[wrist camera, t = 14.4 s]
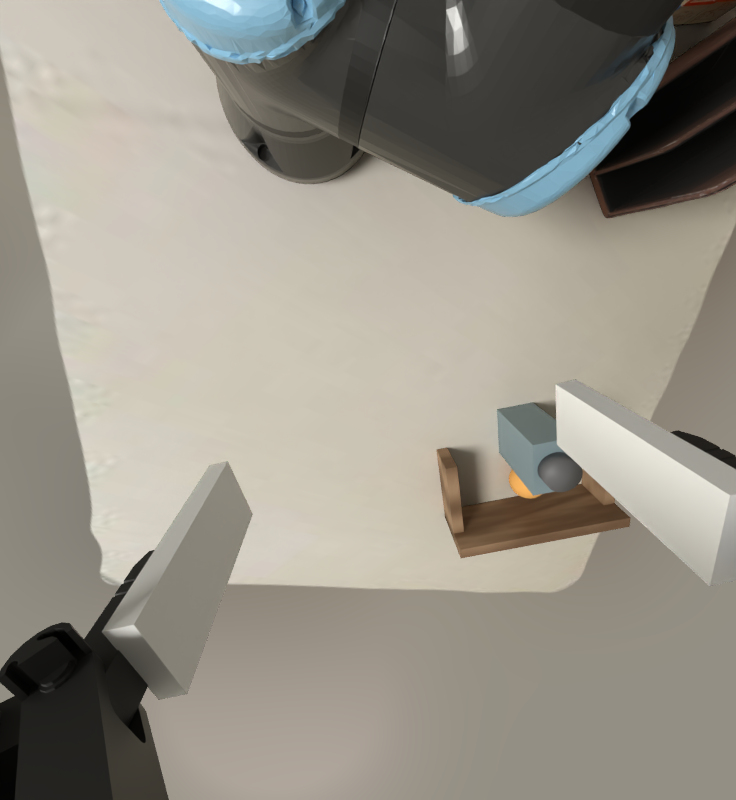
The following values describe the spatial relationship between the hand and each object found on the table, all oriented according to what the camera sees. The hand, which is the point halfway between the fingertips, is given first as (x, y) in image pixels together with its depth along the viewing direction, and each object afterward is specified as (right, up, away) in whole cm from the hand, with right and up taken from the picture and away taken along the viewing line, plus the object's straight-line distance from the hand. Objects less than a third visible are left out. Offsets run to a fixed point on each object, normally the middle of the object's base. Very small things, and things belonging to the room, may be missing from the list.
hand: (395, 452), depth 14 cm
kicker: (+20, -2, +36) cm, 41 cm away
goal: (+21, -8, +38) cm, 44 cm away
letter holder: (+31, +32, +23) cm, 50 cm away
